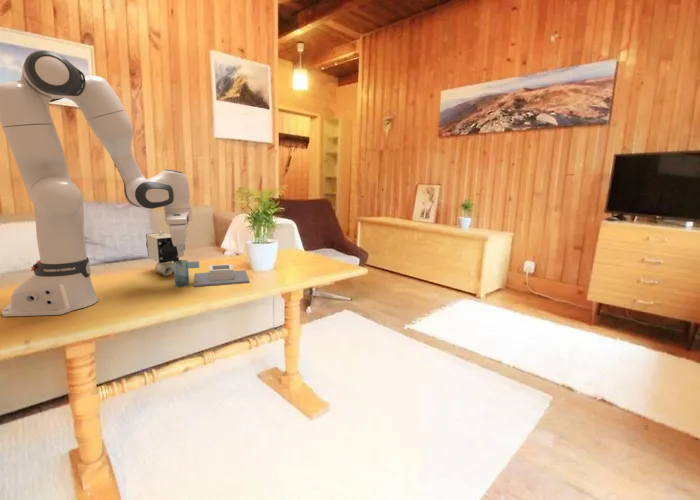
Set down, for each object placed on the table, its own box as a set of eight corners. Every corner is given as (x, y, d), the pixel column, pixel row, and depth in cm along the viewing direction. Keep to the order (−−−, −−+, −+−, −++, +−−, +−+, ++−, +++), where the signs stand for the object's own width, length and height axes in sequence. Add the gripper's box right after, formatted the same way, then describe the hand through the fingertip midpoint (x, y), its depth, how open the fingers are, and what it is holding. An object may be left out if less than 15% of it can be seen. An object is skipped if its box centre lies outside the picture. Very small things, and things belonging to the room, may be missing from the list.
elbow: (174, 287, 130) (172, 263, 128) (175, 283, 134) (174, 260, 132) (200, 285, 133) (198, 262, 131) (200, 281, 137) (199, 259, 135)
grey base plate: (193, 287, 131) (192, 274, 130) (194, 275, 145) (194, 263, 144) (249, 282, 138) (249, 270, 137) (245, 271, 153) (245, 261, 152)
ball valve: (185, 276, 143) (182, 233, 139) (162, 280, 137) (159, 235, 133) (168, 267, 155) (166, 227, 151) (147, 270, 149) (143, 229, 145)
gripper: (171, 212, 136) (174, 247, 139) (165, 220, 117) (169, 260, 121) (189, 212, 138) (192, 246, 141) (186, 219, 120) (190, 259, 123)
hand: (182, 253), depth 131 cm, fingers open, 8 cm apart
